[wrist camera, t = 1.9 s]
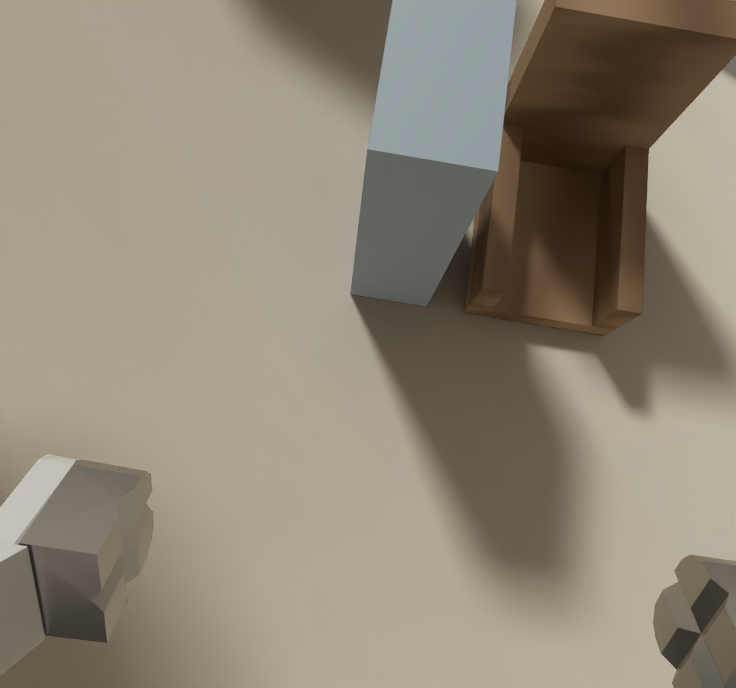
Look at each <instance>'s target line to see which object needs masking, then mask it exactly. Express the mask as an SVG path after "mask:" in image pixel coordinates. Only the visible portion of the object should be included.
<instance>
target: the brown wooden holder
mask: <svg viewBox="0 0 736 688" xmlns="http://www.w3.org/2000/svg"><path fill="white" fill-rule="evenodd" d="M735 55H736V1H732V0H545V1H544V3H543V6H542V8H541V10H540V13H539V15H538V17H537V19H536V22H535V24H534V26H533V28H532V31H531V33H530V35H529V38H528V40H527V42H526V44H525V47H524V49H523V51H522V54H521V56H520V58H519V60H518V63H517V65H516V67H515V69H514V72H513V74H512V76H511V79H510V81H509V83H508V85H507V94H506V103H505V112H504V121H503V131H502V140H501V149H500V158H499V168H498V173H497V174H496V176H495V178H494V180H493V182H492V184H491V186H490V188H489V190H488V192H487V193H486V195H485V197H484V199H483V201H482V203H481V205H480V207H479V209H478V210H477V212H476V214H475V221H474V229H473V238H472V247H471V255H470V264H469V272H468V281H467V290H466V298H465V307H464V313H469V314H475V315H481V316H488V317H494V318H500V319H506V320H512V321H518V322H524V323H530V324H536V325H542V326H548V327H555V328H561V329H567V330H573V331H579V332H585V333H591V334H597V335H603V336H604V335H606V334H608V333H609V332H611V331H613V330H614V329H616V328H618V327H620V326H621V325H623V324H625V323H626V322H628V321H630V320H632V319H633V318H635V317H637V316H638V315H640V314H642V301H643V276H644V252H645V227H646V203H647V178H648V153H649V148H650V147H651V146H652V145H653V144H654V143H655V142H656V140H657V139H658V138H659V137H660V136H661V135H662V134H663V133H664V132H665V131H666V130H667V129H668V128H669V126H670V125H671V124H672V123H673V122H674V121H675V120H676V119H677V118H678V117H679V116H680V115H681V113H682V112H683V111H684V110H685V109H686V108H687V107H688V106H689V105H690V104H691V103H692V102H693V101H694V99H695V98H696V97H697V96H698V95H699V94H700V93H701V92H702V91H703V90H704V89H705V88H706V86H707V85H708V84H709V83H710V82H711V81H712V80H713V79H714V78H715V77H716V76H717V75H718V73H719V72H720V71H721V70H722V69H723V68H724V67H725V66H726V65H727V64H728V63H729V61H730V60H731V59H732V58H733V57H734V56H735Z"/></svg>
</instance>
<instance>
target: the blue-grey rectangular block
mask: <svg viewBox="0 0 736 688" xmlns="http://www.w3.org/2000/svg"><path fill="white" fill-rule="evenodd" d="M516 1H517V0H393V1H392V7H391V13H390V19H389V25H388V31H387V36H386V42H385V48H384V54H383V60H382V66H381V72H380V78H379V84H378V90H377V96H376V102H375V107H374V113H373V119H372V125H371V131H370V137H369V143H368V149H367V157H366V166H365V174H364V183H363V191H362V200H361V208H360V217H359V225H358V234H357V242H356V251H355V259H354V268H353V276H352V285H351V293H350V294H352V295H358V296H364V297H370V298H376V299H382V300H388V301H394V302H401V303H407V304H413V305H419V306H425V307H427V305H428V303H429V302H430V300H431V298H432V296H433V294H434V292H435V290H436V288H437V286H438V284H439V283H440V281H441V279H442V277H443V275H444V273H445V271H446V269H447V267H448V266H449V264H450V262H451V260H452V258H453V256H454V254H455V252H456V250H457V248H458V247H459V245H460V243H461V241H462V239H463V237H464V235H465V233H466V231H467V229H468V228H469V226H470V224H471V222H472V220H473V218H474V216H475V214H476V212H477V210H478V209H479V207H480V205H481V203H482V201H483V199H484V197H485V195H486V193H487V192H488V190H489V188H490V186H491V184H492V182H493V180H494V178H495V176H496V174H497V173H498V168H499V158H500V149H501V140H502V131H503V121H504V112H505V103H506V94H507V84H508V75H509V66H510V57H511V48H512V38H513V29H514V20H515V11H516Z"/></svg>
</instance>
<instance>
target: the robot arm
mask: <svg viewBox="0 0 736 688" xmlns="http://www.w3.org/2000/svg"><path fill="white" fill-rule="evenodd" d="M151 492H152V482H151V474H150V473H148V472H147V471H142V470H137V469H131V468H126V467H120V466H114V465H109V464H103V463H98V462H92V461H87V460H77V459H72V458H66V457H61V456H55V455H50V454H47V455H45V456H44V457H42V458H40V459H38V460H37V461H36V462H35V464H34V465H33V466H32V467H31V469H30V470H29V471H28V472H27V474H26V475H25V476H24V477H23V479H22V480H21V481H20V483H19V484H18V485H17V486H16V488H15V489H14V490H13V491H12V493H11V494H10V495H9V496H8V498H7V499H6V500H5V501H4V503H3V504H2V505H1V507H0V676H1V675H2V674H3V673H5V672H6V671H7V670H8V669H10V668H11V667H12V666H13V665H14V664H16V663H17V662H18V661H19V660H21V659H22V658H23V657H24V656H26V655H27V654H28V653H29V652H30V651H32V650H33V649H34V648H35V647H37V646H38V645H39V644H40V643H41V642H43V641H44V640H45V635H46V636H55V637H63V638H71V639H80V640H88V641H97V642H105V643H107V642H108V640H109V638H110V636H111V633H112V631H113V629H114V627H115V625H116V623H117V621H118V619H119V616H120V614H121V612H122V610H123V608H124V606H125V604H126V601H127V599H126V583H128V582H129V581H131V580H132V579H133V578H135V577H136V576H138V575H139V573H140V571H141V569H142V566H143V564H144V562H145V560H146V557H147V553H148V550H149V546H150V543H151V539H152V532H153V511H152V510H151V509H150V508H149V507H148V506H147V504H146V502H147V500H148V498H149V496H150V494H151ZM675 574H676V576H677V579H678V582H677V583H675V584H673V585H671V586H669V587H668V588H666V589H664V590H663V591H662V593H661V594H660V596H659V598H658V600H657V602H656V604H655V610H654V619H653V625H654V631H655V638H656V640H657V643H658V646H659V649H660V652H661V654H662V655H663V656H664V657H665V658H666V659H667V660H668V661H669V662H670V663H671V664H672V665H673V666H674V667H675V668H676V669H677V670H676V673H675V676H674V678H673V681H672V684H673V687H674V688H736V561H731V560H724V559H717V558H710V557H703V556H696V555H689V556H687V557H685V558H683V559H682V560H681V561H680V563H679V564H678V566H677V568H676V569H675Z"/></svg>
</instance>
